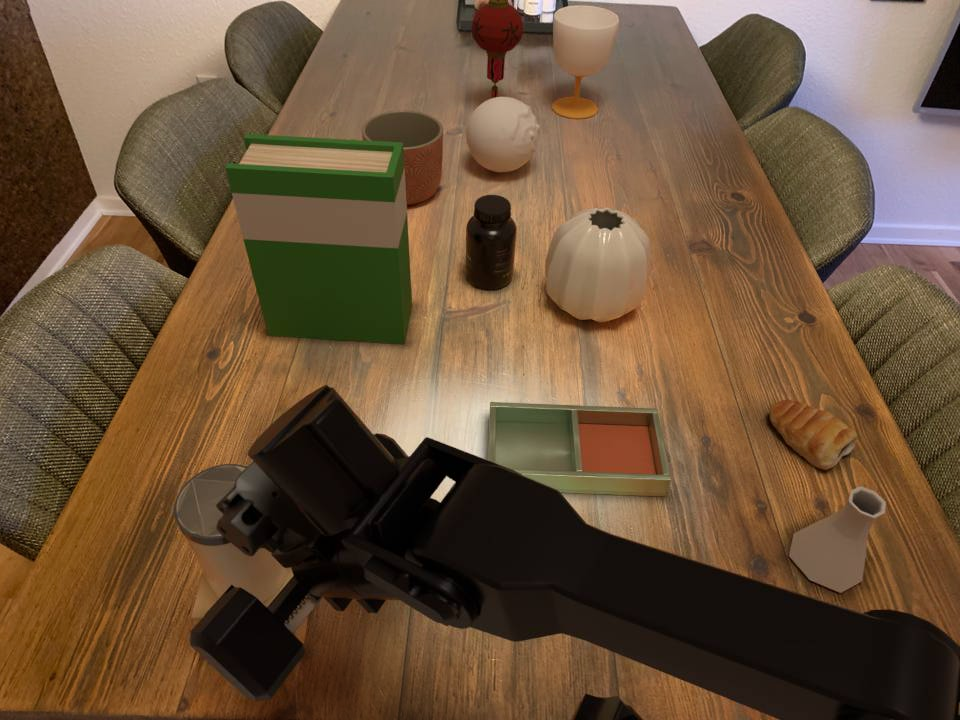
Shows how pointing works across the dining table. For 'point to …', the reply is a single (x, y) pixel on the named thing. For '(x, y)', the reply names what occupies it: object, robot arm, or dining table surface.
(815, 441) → the pastry
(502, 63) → the lantern
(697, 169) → the dining table surface
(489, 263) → the supplement bottle
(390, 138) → the planter
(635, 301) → the vase
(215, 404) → the dining table surface
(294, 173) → the hardback book
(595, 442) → the tray
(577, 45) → the cup
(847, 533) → the flask
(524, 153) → the decorative ball
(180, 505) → the jar
